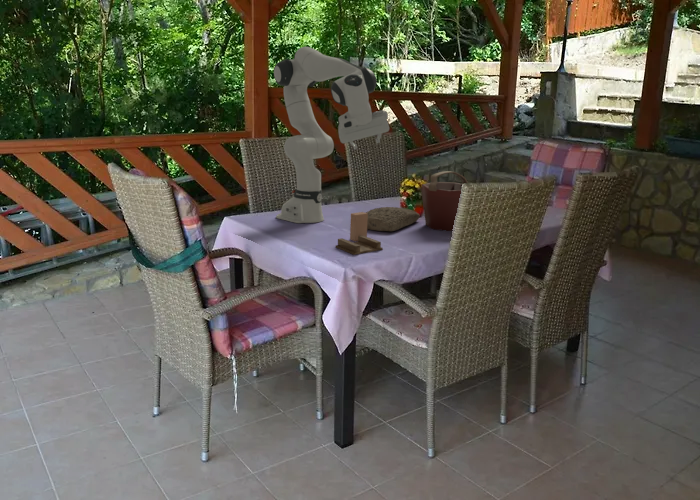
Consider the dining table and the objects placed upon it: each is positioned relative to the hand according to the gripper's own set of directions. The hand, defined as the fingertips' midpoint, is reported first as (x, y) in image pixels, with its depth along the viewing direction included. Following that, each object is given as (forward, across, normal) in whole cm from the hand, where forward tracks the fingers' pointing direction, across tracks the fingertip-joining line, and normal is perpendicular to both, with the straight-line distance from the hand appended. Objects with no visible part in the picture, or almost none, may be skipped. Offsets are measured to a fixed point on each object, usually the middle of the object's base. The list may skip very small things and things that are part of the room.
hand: (366, 145), depth 255 cm
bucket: (+52, -27, +1) cm, 58 cm away
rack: (+25, +14, +31) cm, 42 cm away
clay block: (+31, +13, +19) cm, 38 cm away
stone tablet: (+46, -2, -4) cm, 47 cm away
